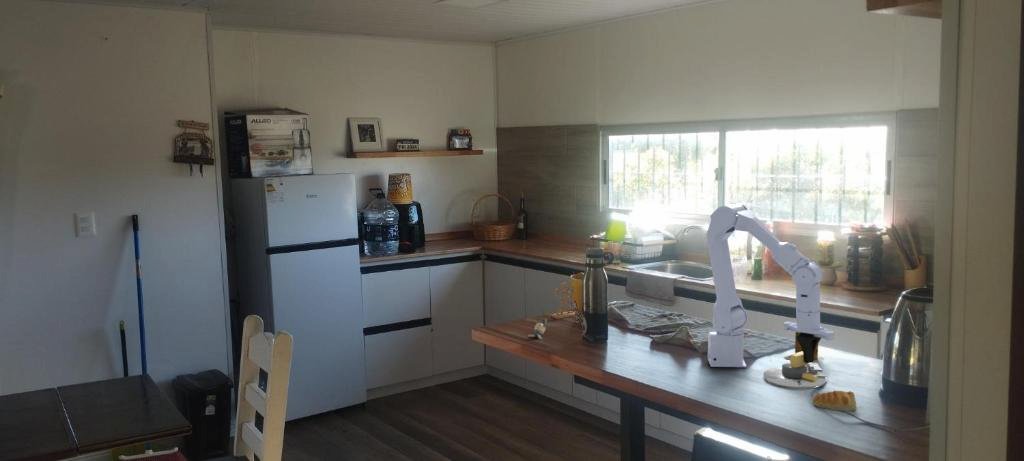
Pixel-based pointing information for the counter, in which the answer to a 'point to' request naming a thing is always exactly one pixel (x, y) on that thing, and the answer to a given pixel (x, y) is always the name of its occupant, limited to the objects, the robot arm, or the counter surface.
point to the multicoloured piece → (797, 368)
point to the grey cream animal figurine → (539, 328)
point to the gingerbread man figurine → (567, 314)
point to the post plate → (779, 379)
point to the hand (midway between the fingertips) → (808, 362)
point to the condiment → (799, 349)
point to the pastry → (836, 400)
